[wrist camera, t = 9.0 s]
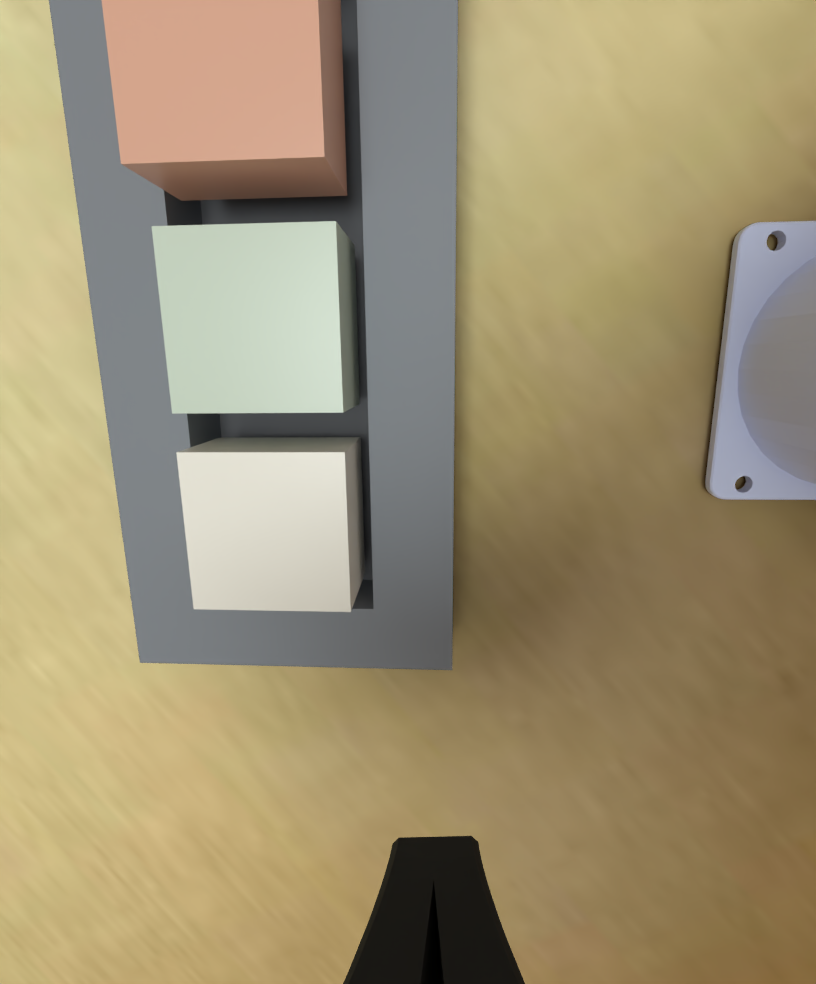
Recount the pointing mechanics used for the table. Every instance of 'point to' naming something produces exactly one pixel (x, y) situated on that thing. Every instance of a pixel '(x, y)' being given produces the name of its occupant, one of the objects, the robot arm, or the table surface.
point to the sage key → (259, 317)
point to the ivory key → (274, 523)
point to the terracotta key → (230, 96)
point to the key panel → (381, 347)
